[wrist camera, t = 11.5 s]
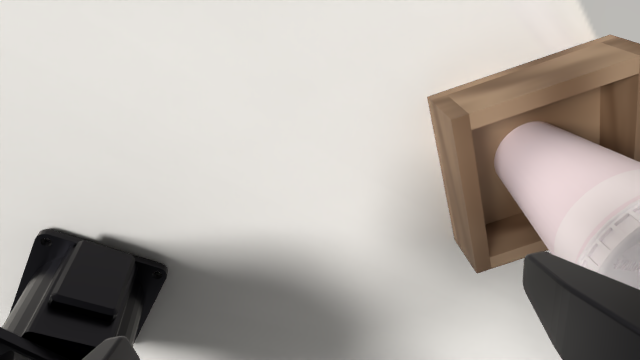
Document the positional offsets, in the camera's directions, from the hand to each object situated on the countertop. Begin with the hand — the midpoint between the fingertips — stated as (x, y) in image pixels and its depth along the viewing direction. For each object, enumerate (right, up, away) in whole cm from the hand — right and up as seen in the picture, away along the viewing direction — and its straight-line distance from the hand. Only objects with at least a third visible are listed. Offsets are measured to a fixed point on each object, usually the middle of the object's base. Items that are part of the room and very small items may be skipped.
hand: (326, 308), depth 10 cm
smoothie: (+11, +4, +14) cm, 18 cm away
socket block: (+11, +5, +14) cm, 19 cm away
